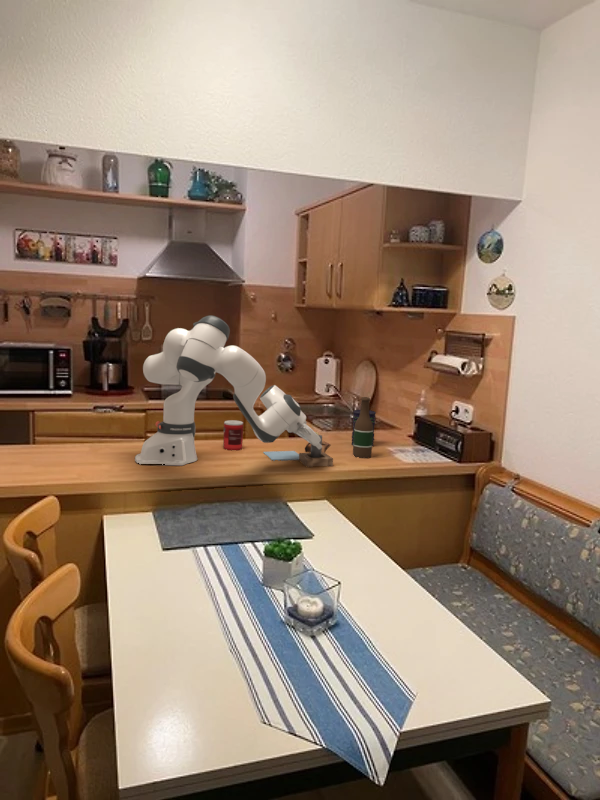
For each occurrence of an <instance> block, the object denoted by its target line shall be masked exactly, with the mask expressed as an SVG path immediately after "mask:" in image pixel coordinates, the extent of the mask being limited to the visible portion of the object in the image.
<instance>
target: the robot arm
mask: <svg viewBox="0 0 600 800" xmlns="http://www.w3.org/2000/svg"><path fill="white" fill-rule="evenodd" d="M192 325H193V327H192V328H191V329H190V330H187V329H186V328H181V327H180V328H179V327H177V328H174V329H171V330H170V331H169V332H168V333H167V334H166V336H165V339H164V340H163V341H164V342H163V345H162V351H161V352H159V353H155V354H152V355H149V356H148V357H147V358H146V359H145V360H144V363H143V365H142V371H143V376H144V378H145V379H146V380H147V381H148V382H150V383H153V384H159V385H175V386H177V385H180V386H181V388H180V390H179V391H178V392H175V393H173V394H171V395H169V396H167V397H166V398H165V400H164V402H163V414H162V415H163V417H162V419H163V420H162V421H159V420H158V421H156V422H155V426H156V428H157V432H156V433H154V434H153V435H151V436H149V438H147V439H146V440H145V441H144V442H143V444H142V446H141V449H140V453H138V454H136V455H135V457H134V462H135V463H137V464H138V463H139V465H141V464H162V465H161V466H184V465H186V464H189V463H194V462H196V461H197V460H198V456H197V452H196V444H195V437H196V436H195V435H196V423H195V408H196V407H195V406H196V402H197V399H198V397H199V394H200V393H201V391H202V390H203V389H204V388H205V387H206V386H207V385H209V384H210V383H211V382H212V381H213V380H214V379H215V377H216V373H218V374H219V375H221V376H223V377H224V378H225V379H226V381H228V383H229V384H230V385H231V386H232V387H233V389H234V393H233V396H232V397H233V401H234V402H235V404H236V406H237V407H238V410H239V411H240V413H241V414H242V415H243V416H244V418H245V420H246V421H247V422H248V424H249V425H250V427H251V429H252V430H253V433H254V435H255V437H256V438H257V439H258V440H259V441H261V442H262V443H265V444H269V443H270V444H272V443H274V442H275V441H276V439H278V438H279V437H280V435H282V433H284V432H285V431H287V432H288V433H293V434H296V435H297V436H299V437H301V439H303V440H305V441H306V442H308V443H311V444H312V445H314V446H316V447H317V448H318V449H321V448H322V445H321V444H320V443H319V442H320V441H321V438H320V437H319V436H318V435H317V434H316V431H314V429H313V428H311V427H310V426H309V425H308V424H307V421H306V420H307V416H306V414H305V413H304V412H303V411H302V410H301V405H300V403H299V402H297V401H296V400H295V398H293V397H292V395H291V394H286V393H285V392H284V390H282V389H281V388H279V387H278V385H276V384H274V385H270V386H269V387H268V388H266V389H265V386H266V383H267V382H266V381H267V376H266V372H265V370H264V369H263V367H262V366H261V364H260V363H259V362H258V361H257V360H256V359H255V358H254V357H253V356H252V355H251V354H250V353H248V352H247V351H245V350H244V349H242V348H241V347H239V346H237V345H227V346H225V345H226V342H227V341H228V340H229V337H230V332H231V330H230V329H231V328H230V326H229V325H228V324H227V323H226V322H225V321H224V320H223V319H222V318H221V317H218V316H215V315H206V316H204V317H202V318H201V319H199V320H198V321H196V322H193V324H192ZM264 389H265V390H264ZM263 391H264V392H263ZM262 392H263V393H262ZM261 393H262V394H261ZM259 396H260V397H259ZM258 398H259V399H260V401H261V403H262V404H263V405H264V407H265V408H266V410H265V411H264V412H263V413H261V414H260V415H258V414H257V412H256V411H255V409H254V406H255V404H256V402H257V400H258ZM163 464H165V465H163Z"/></svg>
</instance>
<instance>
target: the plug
mask: <svg viewBox="0 0 600 800" xmlns="http://www.w3.org/2000/svg"><path fill="white" fill-rule="evenodd" d="M315 433H316V434H317V435H318V436H319V437H320V438H321V441H320V442H319V443H320V444H321V445H322V441H323V435H321V434H319V432H317V431H315ZM321 450H322V448H321V449H318V448H317V447H316V446H314V445H312V444H311V452H310V453H311V458H321Z"/></svg>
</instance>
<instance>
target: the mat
mask: <svg viewBox="0 0 600 800" xmlns="http://www.w3.org/2000/svg"><path fill="white" fill-rule="evenodd" d="M262 453H263V454H264V455H265V456H266V455H267V456H268V457H269V458H270V459H271V461H272V460H273V461H272V462H275V460H278V462H279V461H280V460H281V461H299V453H298V452H297V451H295V450H283V451H282V450H280V451H278V450H276V451H275V450H274V451H263V452H262ZM267 456H266V457H267ZM268 457H267V458H268ZM269 458H268V459H269Z"/></svg>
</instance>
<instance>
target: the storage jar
mask: <svg viewBox="0 0 600 800" xmlns="http://www.w3.org/2000/svg"><path fill="white" fill-rule="evenodd" d="M360 410H361V409H354V410H353V411H352V412H353V415H352V424H353V425H352V432H351V445H352V446H353V441H354V427H355V423H356V420H357V419H358V418H359V415H360ZM376 413H377V411H374V410H370V409H369V416H370V419H371V421H372V424H373V440H372V446H373V447H374V443H375V424H376Z"/></svg>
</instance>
